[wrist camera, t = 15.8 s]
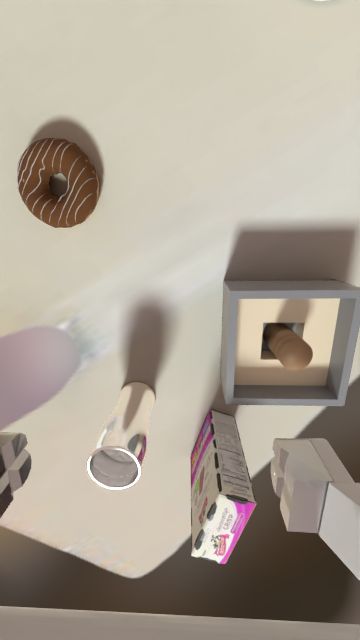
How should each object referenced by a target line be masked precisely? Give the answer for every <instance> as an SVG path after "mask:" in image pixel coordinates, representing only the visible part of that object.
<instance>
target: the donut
mask: <svg viewBox="0 0 360 640" xmlns="http://www.w3.org/2000/svg"><path fill="white" fill-rule="evenodd" d="M58 173H62V174H63V175H64V176H65V177H66V179H67V181H68V189H67V192H66V193H65V194H64V195H65V196H64V195H62V196H64V197H62V196H61V197H58V196H54V195H52V193H51V192H50V189H49V181H50V177H51V176H52V175H54V174H56V175H57V174H58ZM17 181H18V191H19V193H20V195H21V197H22V200H23V202H24V203H25V205H26V206H27V208H28V209H29V210H30V211H31V213H32V214H33V215H34V216H36V217H37V218H38V219H40V220H41V221H43V222H44V223H46V224H48V225H51V226H53V227H55V228H58V227H63V228H67V227H73V226H75V225H77V224H80V223H82V222H84V221H85V220H86V219H87V218H88V217H89V216H90V215H91V213H92V212H93V210H94V209H95V206H96V204H97V201H98V195H99V183H98V178H97V174H96V171H95V168H94V167H93V165H92V163H91V161H90V160H89V158H88V157H87V156H86V155H85V154H84V153H83V152H82V151H81V150H80V148H79V147H78V146H77V145H76V144H74V143H71V142H69V141H67V140H65V139H55V138H46V139H42V140H39V141H36V142H35V143H33V144H32V145H30V146H29V147H28V148H27V149H26V150H25V152H24V153H23V154H22V156H21V157H20V160H19V162H18V168H17Z"/></svg>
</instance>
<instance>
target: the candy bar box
mask: <svg viewBox="0 0 360 640" xmlns="http://www.w3.org/2000/svg"><path fill="white" fill-rule="evenodd" d="M255 506H256V501H255V496H254V492H253V489H252V485H251V481H250V476H249V473H248V468H247V465H246V461H245V458H244V453H243V449H242V445H241V441H240V437H239V433H238V429H237V425H236V421H235V417H233V416H230V415H227V414H223V413H220V412H217V411H213V410H209V412H208V415H207V418H206V420H205V423H204V425H203V428H202V430H201V433H200V435H199V438H198V440H197V443H196V445H195V448H194V450H193V453H192V455H191V541H192V543H191V547H192V549H191V556H194V557H198V558H202V559H206V560H210V561H215V562H217V563H221V564H226V562H227V560H228V558H229V556H230V554H231V552H232V550H233V548H234V546H235V544H236V542H237V540H238V538H239V537H240V535H241V533H242V531H243V529H244V527H245V525H246V523H247V521H248V519H249V517H250V515H251V513H252V512H253V510H254V508H255Z"/></svg>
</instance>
